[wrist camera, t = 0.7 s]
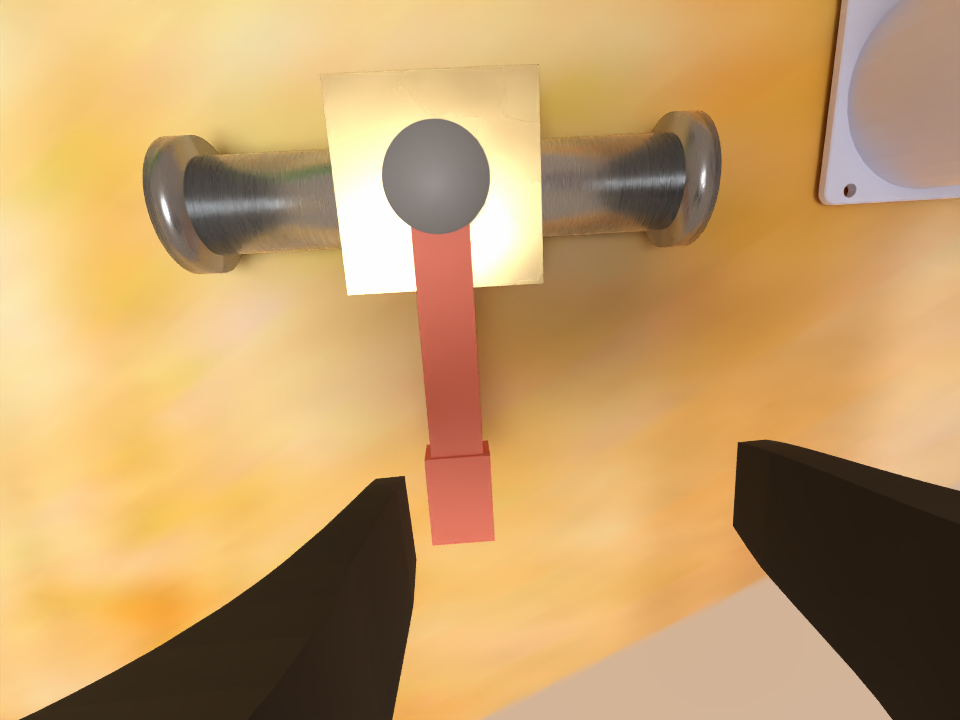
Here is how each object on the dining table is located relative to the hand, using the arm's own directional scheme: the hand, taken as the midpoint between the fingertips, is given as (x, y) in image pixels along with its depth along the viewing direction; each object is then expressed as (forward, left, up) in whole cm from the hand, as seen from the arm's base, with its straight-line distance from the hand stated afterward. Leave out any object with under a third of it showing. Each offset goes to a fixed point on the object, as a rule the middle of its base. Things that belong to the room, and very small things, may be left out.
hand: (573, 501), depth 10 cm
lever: (+3, -2, -5) cm, 6 cm away
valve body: (+3, -7, -10) cm, 13 cm away
